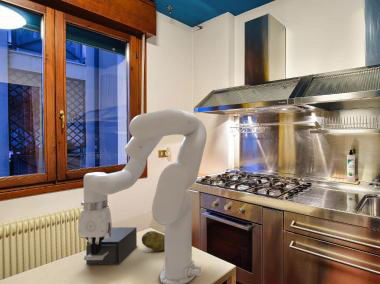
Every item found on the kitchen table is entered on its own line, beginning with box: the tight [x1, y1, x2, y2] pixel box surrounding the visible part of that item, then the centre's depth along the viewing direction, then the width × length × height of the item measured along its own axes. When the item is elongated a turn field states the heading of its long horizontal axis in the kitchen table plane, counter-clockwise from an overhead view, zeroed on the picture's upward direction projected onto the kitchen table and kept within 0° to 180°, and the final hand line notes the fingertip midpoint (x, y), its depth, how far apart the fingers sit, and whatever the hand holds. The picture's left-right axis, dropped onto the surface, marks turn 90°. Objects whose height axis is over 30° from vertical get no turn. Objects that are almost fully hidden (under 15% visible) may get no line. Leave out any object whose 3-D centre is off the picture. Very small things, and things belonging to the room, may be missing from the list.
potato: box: [141, 230, 165, 252], centre depth 102 cm, size 8×13×8 cm, turn 81°
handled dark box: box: [83, 244, 117, 265], centre depth 93 cm, size 18×11×7 cm, turn 1°
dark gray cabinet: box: [86, 226, 138, 265], centre depth 97 cm, size 15×13×9 cm
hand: (96, 252), depth 86 cm, fingers closed
